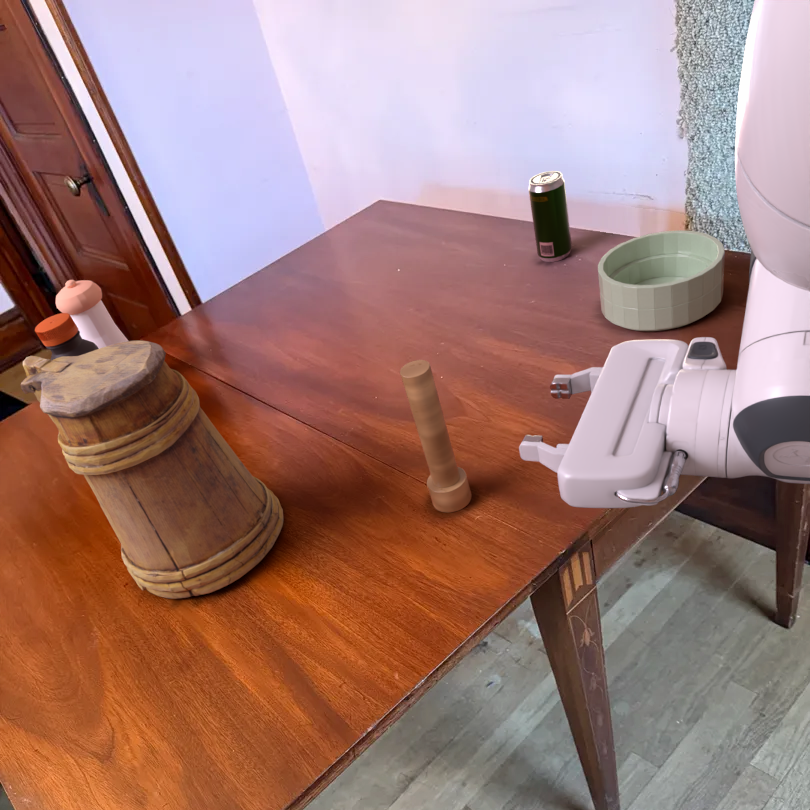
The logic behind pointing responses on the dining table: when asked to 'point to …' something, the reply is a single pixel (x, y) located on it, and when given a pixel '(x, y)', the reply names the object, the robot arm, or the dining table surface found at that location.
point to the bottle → (63, 337)
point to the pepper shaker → (89, 312)
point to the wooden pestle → (435, 439)
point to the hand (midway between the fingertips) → (537, 415)
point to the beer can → (550, 216)
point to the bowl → (661, 280)
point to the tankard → (156, 468)
